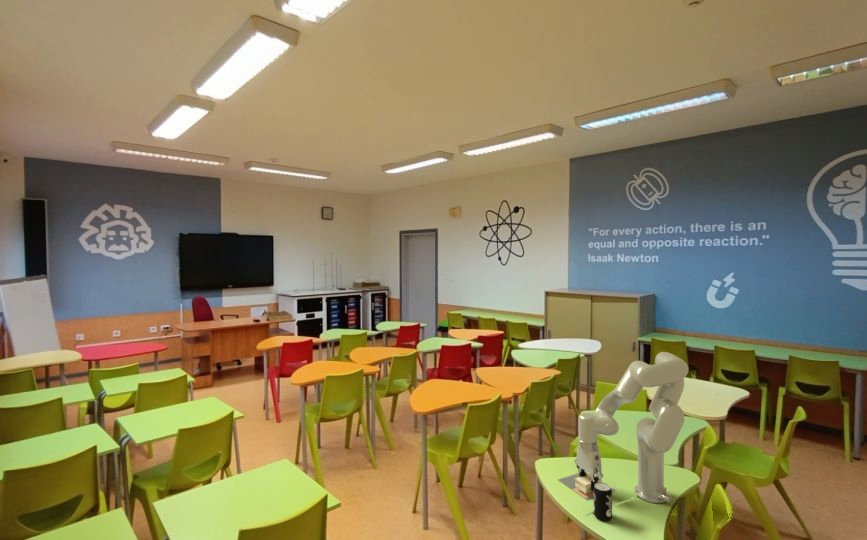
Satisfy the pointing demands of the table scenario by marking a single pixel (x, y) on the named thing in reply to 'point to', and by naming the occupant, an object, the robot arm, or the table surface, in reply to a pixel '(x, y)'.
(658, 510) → the table surface
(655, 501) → the robot arm
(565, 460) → the table surface
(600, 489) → the beverage can
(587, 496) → the rubber mat
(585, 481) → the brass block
